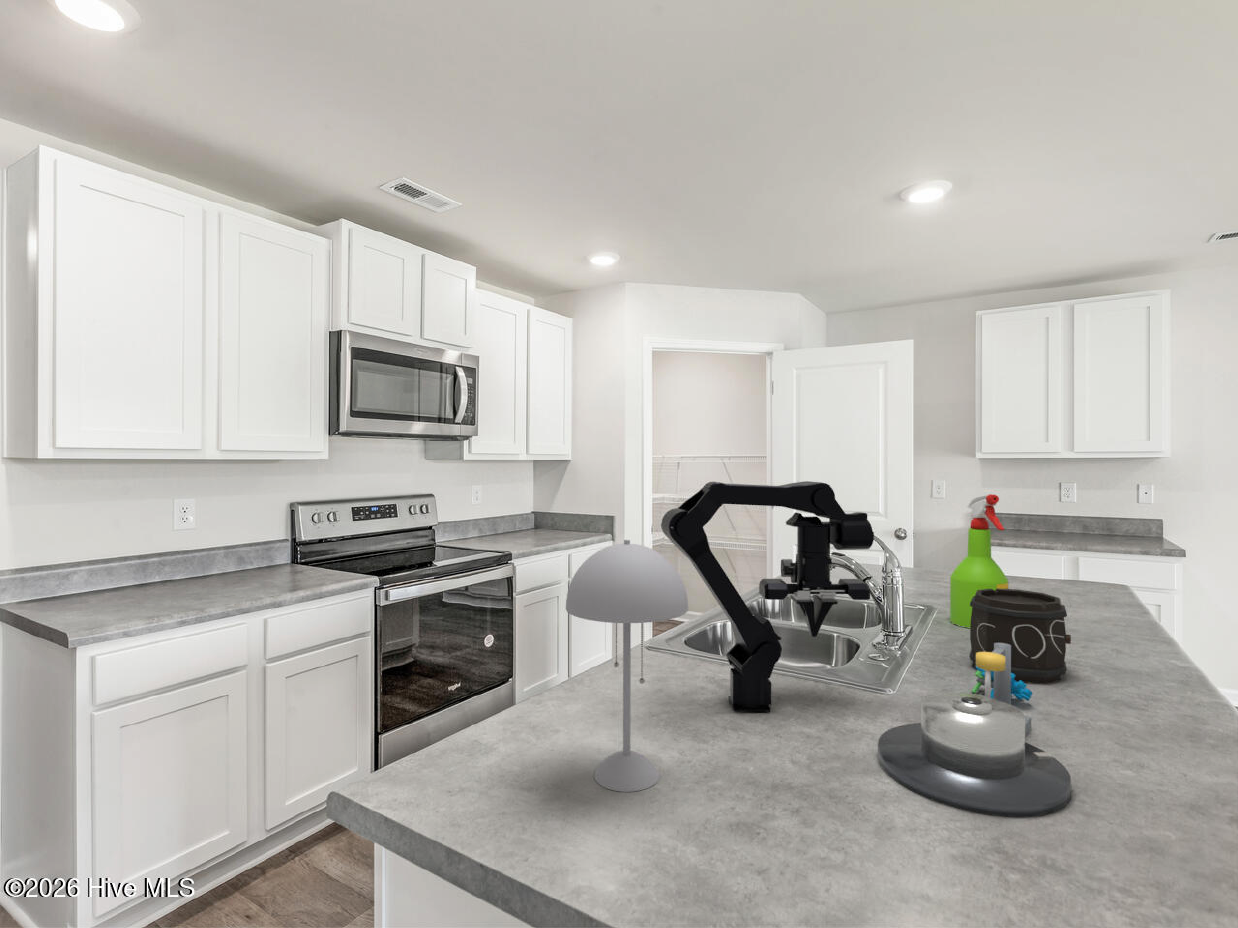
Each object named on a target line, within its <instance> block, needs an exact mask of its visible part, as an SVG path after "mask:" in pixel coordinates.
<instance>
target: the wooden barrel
mask: <svg viewBox="0 0 1238 928" xmlns="http://www.w3.org/2000/svg"><path fill="white" fill-rule="evenodd" d="M970 606H971V607H972V614H971V622H970V629H969V632H970V635H969V637H970V638H969V639H970V640H969V641H970V646H971V647H970V648H971V649H970V652H969V659H970V661H971V662H973V666H974V668H975V669H976V653H977V652H992V651H994V643H1006V644H1009V645H1011V673H1013V674H1015V678H1014V680H1015V681H1017V682H1019V681H1020V680H1021V681H1023V682H1024V683H1028V682H1031V683H1030V684H1043V685H1044V684H1048V683H1053V682H1059V680H1060V681H1061V678H1062V675H1065V674H1066V673H1067V665H1066V661H1065V659H1066V652H1067V651H1066V649H1067V644H1068V645H1071V644H1072V642H1071V641H1072V635H1071V634H1067V633H1066V631H1067V630H1066V624H1065V618H1066V617H1067V616H1068V614H1067V610H1066V606H1065V605H1064V604H1062V601H1061V598H1060V597H1058V596H1054V595H1050V594H1049V593H1044V592H1039V591H1032V590H1031V591H1030V590H1024V589H1017V588H1008V589H996V590H995V591H994V590H993V589H983V590H977V592H976V594H975V596H973V598H972V600H971V603H970Z"/></svg>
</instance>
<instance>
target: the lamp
mask: <svg viewBox="0 0 1238 928" xmlns="http://www.w3.org/2000/svg"><path fill="white" fill-rule="evenodd" d="M565 611H566V612H567V613H568V614H570V615H571V616H574V617H576V618H579V619H584V620H588V621H594V622H601V623H611V624H613V623H614V624H615V662H614V663H613V666H614V667H615V668H618V667H619V665H620V663H619V662H618V645H617V644H618V624H623V625H622V627H623V628H622V657H623V658H622V695H623V696H622V750H620V751H616V752H613V753H611V754H610V755H608V756H607V757H605V758H604V759H603V760H602V761H601V762H600V763H599V764H598V766H597V767H596V769H595V770H594V772H593V778H594V781H595V782H596V784H598V785H599V786H601V787H603V788H605V789H608V790H610V791H615V792H620V793H621V792H623V793H624V792H625V793H631V792H640V791H643V790H647V789H648V788H649V789H650V788H651V787H654V785H656V784H657V783H658V781H659V780H660V772H659V770H658V769H657V767H656V766H655V764H654V763H653V762H652V761H651V759H650V758H648V757H646V756H645V755H644V754H641V752H640V753H639V752H637V751H633V750H631V690H632V689H631V684H632V683H631V681H632V680H631V672H632V671H631V668H632V667H631V656H632V653H631V651H632V649H631V648H632V647H631V643H632V642H631V633H632V632H631V628H632V627H631V626H632V625H631V624H641V627H640V628H641V632H640V633H641V636H640V637H641V638H640V640H641V644H640V645H641V646H640V647H641V648H640V651H641V656H640V657H641V660H640V662H641V664H640V665H641V669H640V670H641V673H640V674H641V675H640V676H641V678H640V679H639V680H638V681H639V683H640V685H641V684H642V685H643V684H644V683H645V682H646V680H645V679H644V677H643V674H644V673H643V672H644V671H643V670H644V669H643V666H644V665H643V664H644V662H643V661H644V660H643V658H644V656H643V655H644V654H643V653H644V652H643V651H644V648H643V647H644V645H643V643H644V642H643V639H644V638H643V636H644V632H643V628H644V626H643V625H644V623H654V622H655V623H656V622H662V621H664V622H665V621H668V620H673V619H677V618H679V617H681V616H684V615H685V614H686V613H687V612H688V611H689V601H688V594H687V590H686V585H684V581H683V580H682V577H681V576H680V574H679V572H678V571H677V569H676V567H674V565H673V564H672V563H671V562H670V560H668V559H667V558H666V557H665V556H663V555H662V554H661V553H660V552H658V551H656V550H655V549H653V548H650V547H648V546H644V545H643V544H642V545H641V544H637V543H631V540H630V539H623V543H618V544H617V543H616V544H612V545H609V546H605V547H604V548H600V549H599V550H597V551H596V552H594V553H593V554H591V555H590V556H588V557H587V558H586V560H585V561H584V562H582V564H581V565H580V566H579V567H578V569H577V570H576V572H575V573H574V575H573V577H572V580H571V581H570V583H569V586H568V590H567V593H566V600H565Z"/></svg>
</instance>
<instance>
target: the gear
mask: <svg viewBox="0 0 1238 928" xmlns="http://www.w3.org/2000/svg"><path fill="white" fill-rule="evenodd" d="M975 669H976V671H975V673H974V676H975V677H976V679H975V681H976V682H977V683H976V684H975V685H974V687H973V688H972V690H971V692H972V694H977V692H978V691H979V689H980V688H981V686H983V687H985V670H984V669H981V668H978V667H977V666H976V668H975ZM1014 678H1015V674H1013V673H1011V696H1012V695H1013V696H1014V697H1015V698H1016V699H1018V700H1019V701H1023V700H1025V701H1027V702H1029V701H1030V700H1031V697H1032V695H1033V692H1032V691H1031V690H1030V689H1029V688H1027V686H1028V684H1026V682H1023V681H1021V680H1020V681H1019V682H1017V681H1015V680H1014ZM991 698H993V699H994V671H991Z"/></svg>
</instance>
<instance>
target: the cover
mask: <svg viewBox="0 0 1238 928" xmlns="http://www.w3.org/2000/svg"><path fill="white" fill-rule="evenodd" d="M920 700H921V701H920V723H921V752H922V754H923V755H924V756H925V757H926V758H927V759H928V760H929V761H931V762H932V763H934V764H936V765H938V766H940V767H942V768H944V769H946V770H949V771H952V772H955V773H958V774H961V775H965V776H970V777H975V778H981V779H993V780H1002V779H1010V778H1015V777H1018V776H1020V775H1021V774H1022V773H1023V772H1024V769H1025V742H1026V737H1025V716H1026V715H1025V714H1024V712H1023V711H1021V710H1020V709H1019V708H1017V707H1015V706H1014V705H1010V704H1008V703H1005V702H1003V701H1000V700H997V699H993V698H990V697H986V696H985V695H980V694H977V693H968V692H959V691H957V692H956V691H939V692H938V691H937V692H933V693H928V694H925V695H924V696H923V697H922V698H921V699H920Z"/></svg>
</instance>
